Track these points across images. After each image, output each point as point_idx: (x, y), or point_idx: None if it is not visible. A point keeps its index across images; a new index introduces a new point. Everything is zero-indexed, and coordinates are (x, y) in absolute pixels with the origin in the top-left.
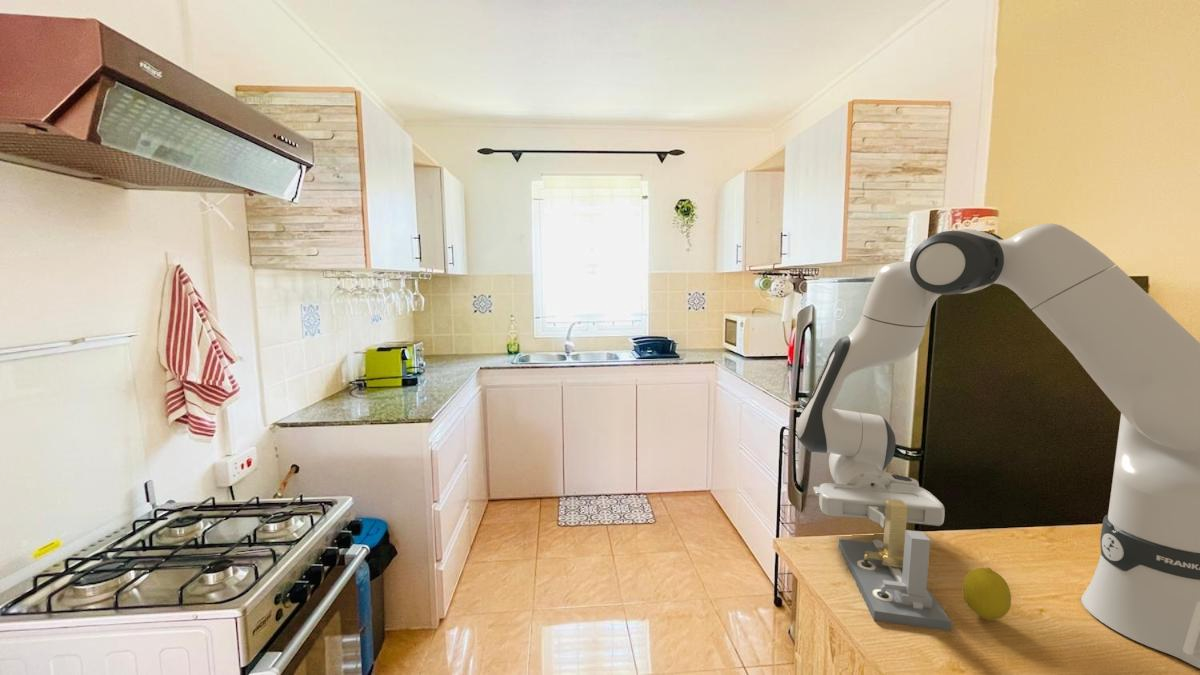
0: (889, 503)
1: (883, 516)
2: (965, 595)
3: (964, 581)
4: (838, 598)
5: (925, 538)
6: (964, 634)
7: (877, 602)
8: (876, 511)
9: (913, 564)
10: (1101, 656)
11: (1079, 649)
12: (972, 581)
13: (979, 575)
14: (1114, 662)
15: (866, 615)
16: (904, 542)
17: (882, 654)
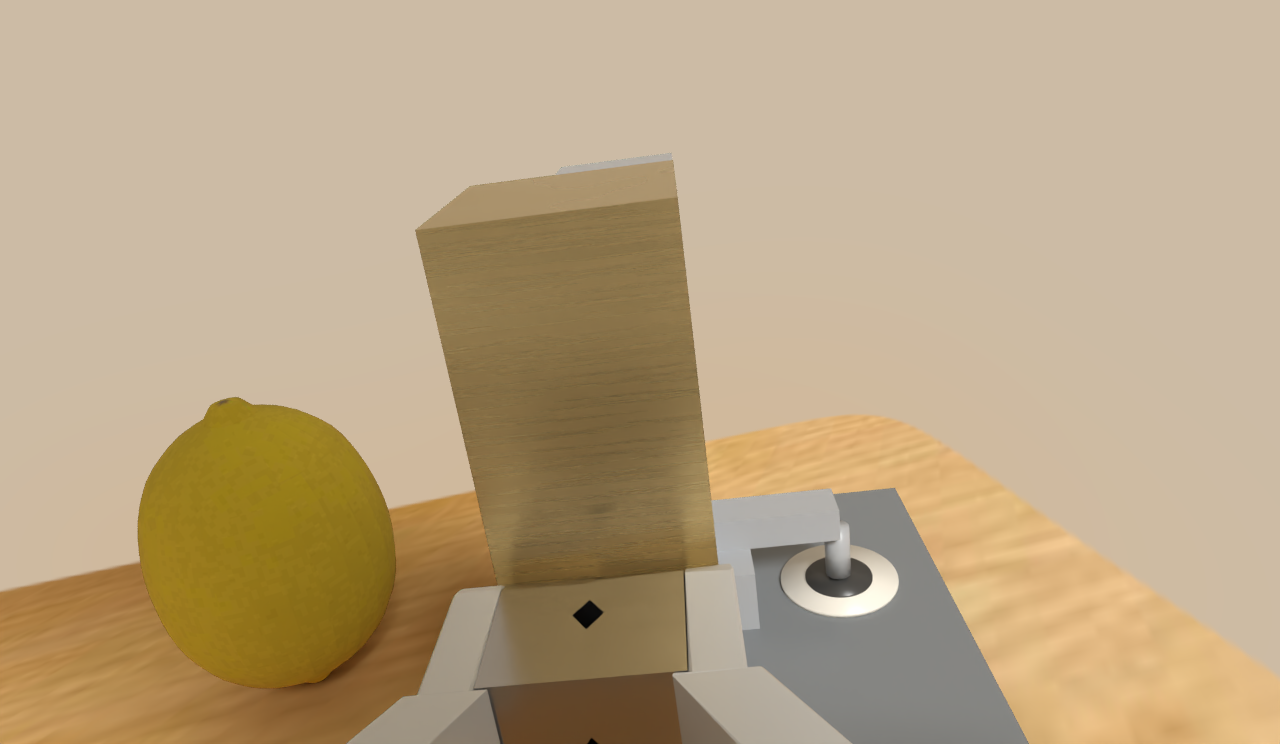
0: (674, 174)
1: (708, 608)
2: (391, 552)
3: (353, 518)
4: (1097, 611)
5: (581, 167)
6: None
7: (875, 531)
8: (802, 718)
9: None
10: (36, 605)
11: (77, 615)
12: (352, 450)
13: (304, 420)
14: (29, 591)
15: (929, 549)
16: None
17: (874, 429)
